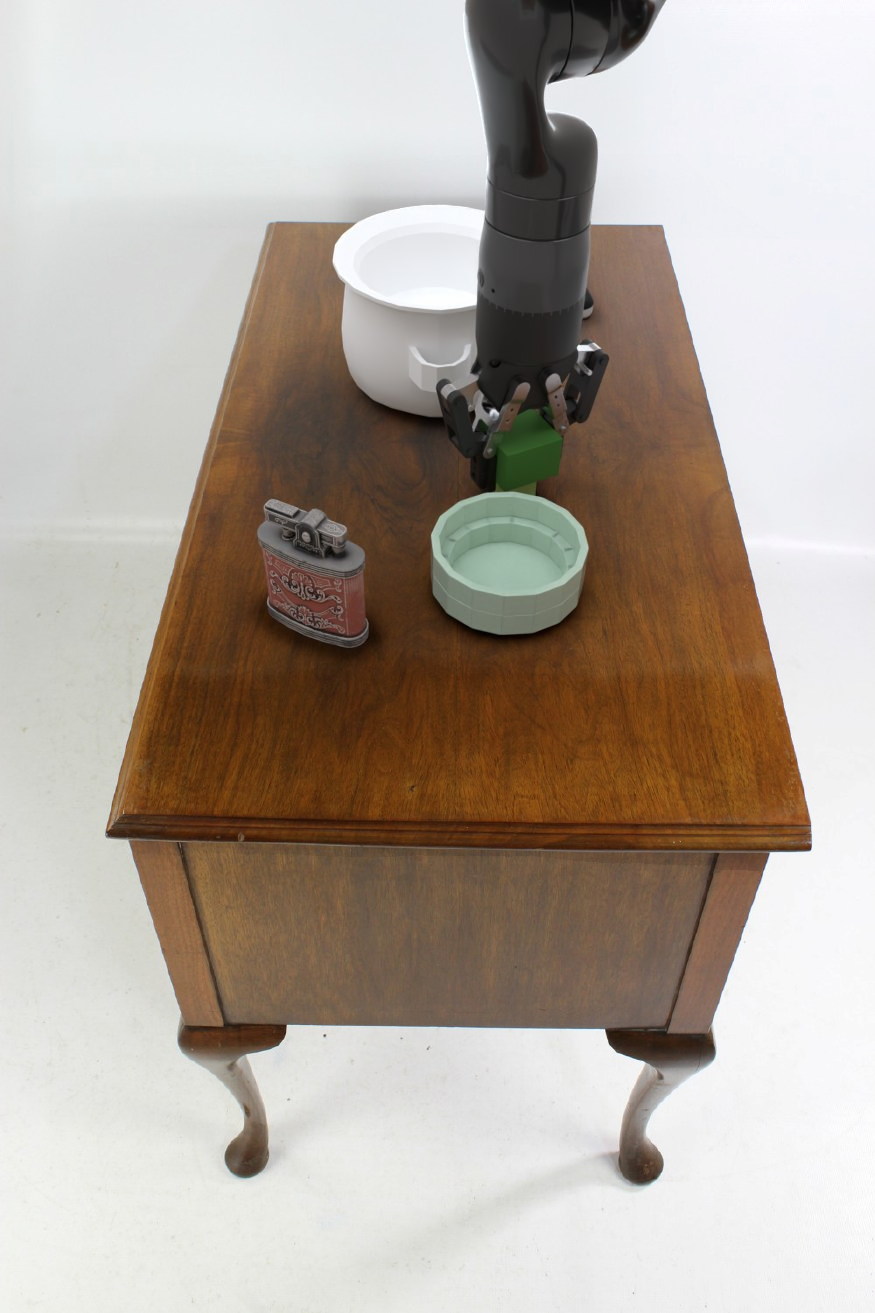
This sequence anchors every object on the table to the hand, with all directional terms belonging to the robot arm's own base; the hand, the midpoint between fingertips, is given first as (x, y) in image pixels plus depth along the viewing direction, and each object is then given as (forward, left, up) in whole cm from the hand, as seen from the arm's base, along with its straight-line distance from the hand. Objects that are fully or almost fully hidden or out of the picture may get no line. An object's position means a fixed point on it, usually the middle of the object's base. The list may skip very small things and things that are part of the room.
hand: (515, 476), depth 86 cm
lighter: (+20, +6, -2) cm, 21 cm away
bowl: (+6, +9, -2) cm, 11 cm away
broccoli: (0, 0, -2) cm, 2 cm away
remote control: (-20, -27, -2) cm, 34 cm away
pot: (-2, -18, -2) cm, 18 cm away
